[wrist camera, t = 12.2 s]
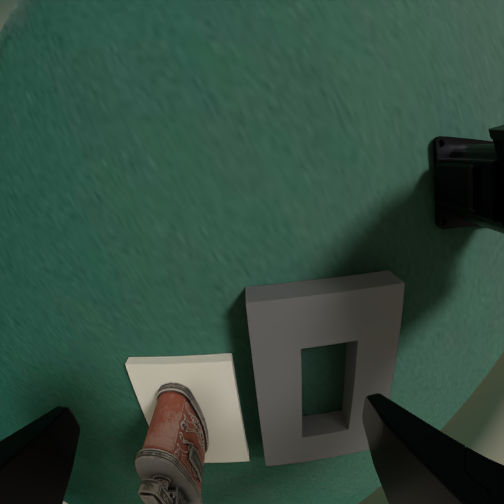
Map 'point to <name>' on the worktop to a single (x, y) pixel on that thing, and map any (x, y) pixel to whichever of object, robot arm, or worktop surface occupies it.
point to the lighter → (173, 449)
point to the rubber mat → (198, 397)
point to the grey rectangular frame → (313, 335)
